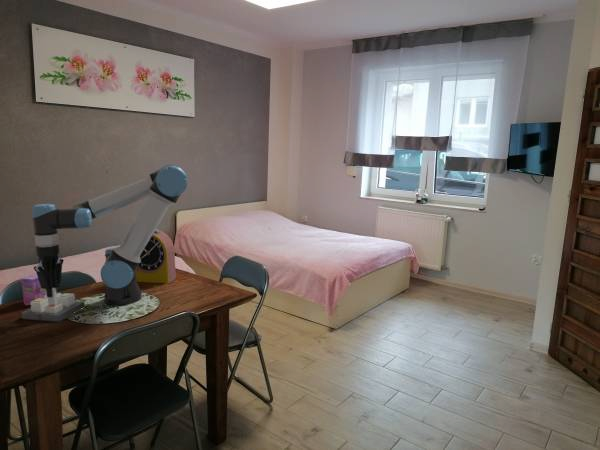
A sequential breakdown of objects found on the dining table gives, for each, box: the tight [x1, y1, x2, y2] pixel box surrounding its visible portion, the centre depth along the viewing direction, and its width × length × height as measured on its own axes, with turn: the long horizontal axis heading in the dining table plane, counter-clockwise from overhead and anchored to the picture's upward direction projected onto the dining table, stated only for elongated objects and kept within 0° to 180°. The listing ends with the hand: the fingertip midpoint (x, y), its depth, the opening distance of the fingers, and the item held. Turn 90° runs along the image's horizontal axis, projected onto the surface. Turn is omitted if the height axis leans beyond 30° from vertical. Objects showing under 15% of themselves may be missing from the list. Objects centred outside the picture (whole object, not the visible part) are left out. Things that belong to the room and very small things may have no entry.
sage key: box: [57, 292, 76, 307], centre depth 174 cm, size 4×4×4 cm
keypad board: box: [21, 300, 86, 323], centre depth 172 cm, size 16×15×2 cm
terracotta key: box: [44, 303, 63, 313], centre depth 168 cm, size 4×4×4 cm
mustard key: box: [30, 298, 49, 312], centre depth 168 cm, size 4×4×4 cm
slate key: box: [44, 292, 63, 303], centre depth 175 cm, size 4×4×4 cm
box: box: [20, 273, 47, 306], centre depth 184 cm, size 10×6×12 cm, turn 168°
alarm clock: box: [136, 228, 177, 284], centre depth 214 cm, size 21×9×26 cm, turn 80°
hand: (53, 304), depth 167 cm, fingers closed
